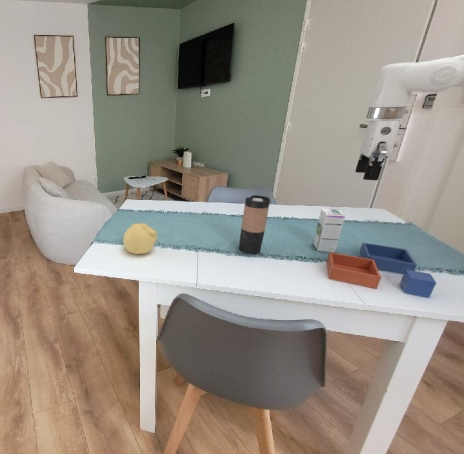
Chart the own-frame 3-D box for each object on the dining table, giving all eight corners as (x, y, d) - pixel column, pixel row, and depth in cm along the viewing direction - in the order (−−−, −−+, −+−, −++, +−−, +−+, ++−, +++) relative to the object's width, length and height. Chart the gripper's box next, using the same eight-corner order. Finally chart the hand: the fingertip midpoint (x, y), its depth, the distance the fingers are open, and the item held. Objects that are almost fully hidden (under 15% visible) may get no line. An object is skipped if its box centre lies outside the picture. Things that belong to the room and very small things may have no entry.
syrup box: (335, 252, 103) (347, 214, 97) (316, 250, 105) (326, 213, 99) (330, 245, 108) (340, 209, 102) (311, 244, 110) (321, 207, 104)
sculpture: (161, 251, 110) (162, 224, 106) (137, 261, 104) (137, 233, 100) (141, 241, 119) (141, 216, 115) (118, 249, 113) (117, 224, 109)
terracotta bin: (370, 270, 92) (374, 259, 90) (376, 289, 83) (381, 277, 82) (326, 262, 97) (329, 251, 96) (328, 278, 89) (332, 267, 87)
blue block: (423, 288, 82) (430, 273, 80) (429, 298, 78) (436, 282, 76) (399, 283, 85) (405, 269, 83) (403, 292, 81) (410, 277, 79)
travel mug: (262, 255, 103) (272, 202, 96) (238, 253, 106) (246, 201, 98) (259, 246, 110) (268, 195, 102) (237, 244, 113) (244, 194, 105)
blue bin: (402, 259, 97) (406, 249, 95) (412, 276, 88) (416, 264, 86) (359, 252, 102) (362, 242, 101) (364, 267, 94) (368, 256, 92)
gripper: (416, 115, 71) (392, 184, 77) (392, 112, 85) (373, 170, 91) (376, 116, 74) (356, 182, 81) (360, 113, 88) (344, 169, 95)
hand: (365, 175), depth 86 cm, fingers open, 9 cm apart
